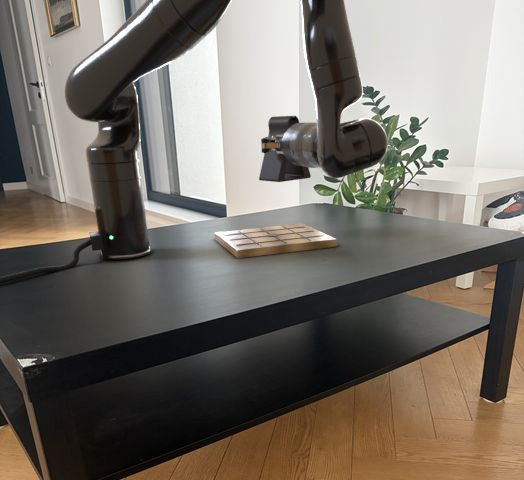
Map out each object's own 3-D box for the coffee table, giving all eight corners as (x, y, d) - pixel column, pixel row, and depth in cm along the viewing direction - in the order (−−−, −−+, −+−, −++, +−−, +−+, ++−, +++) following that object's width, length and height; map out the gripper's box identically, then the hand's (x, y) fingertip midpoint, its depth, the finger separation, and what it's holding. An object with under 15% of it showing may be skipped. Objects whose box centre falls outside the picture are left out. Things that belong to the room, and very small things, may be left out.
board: (237, 258, 101) (236, 249, 101) (215, 239, 117) (214, 231, 116) (336, 246, 106) (336, 238, 106) (302, 230, 122) (302, 222, 122)
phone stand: (277, 182, 109) (275, 116, 104) (258, 180, 113) (256, 117, 108) (310, 177, 114) (310, 114, 109) (291, 176, 118) (290, 115, 113)
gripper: (346, 120, 98) (309, 121, 114) (272, 124, 95) (244, 124, 110) (345, 164, 101) (309, 159, 116) (273, 169, 97) (246, 163, 113)
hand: (277, 142), depth 113 cm, fingers closed on phone stand, 3 cm apart
